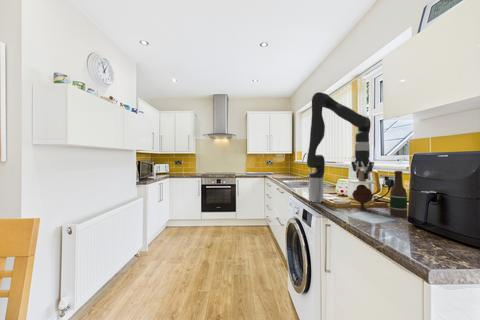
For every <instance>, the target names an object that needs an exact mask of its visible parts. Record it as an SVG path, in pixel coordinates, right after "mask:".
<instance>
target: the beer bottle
mask: <svg viewBox="0 0 480 320" xmlns="http://www.w3.org/2000/svg"><path fill="white" fill-rule="evenodd" d="M393 173H394V181H393V186H392V188H391V189H390V192H389V215H390V216H391V217H395V218H401V219H403V218H407V217H408V193H407V190H406V188H405V187H404V184H403V171H402V170H395V171H394V172H393Z"/></svg>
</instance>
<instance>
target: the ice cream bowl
mask: <svg viewBox="0 0 480 320" xmlns="http://www.w3.org/2000/svg"><path fill="white" fill-rule="evenodd" d="M351 194H352V198H353V199H354V200H355V201H356V202H357V203H359V204H360V206H359V207H357V210H360V211H368V209H367V208H366V207H365V204H367V203H369V202H370V201H371V200H372V199H373V196H374V194H372V191H371V189H370V188H369V187H367V186H366V184H361V183H360V184H358V185H357V186H356V188H355V189H354V190H353V192H352V193H351Z"/></svg>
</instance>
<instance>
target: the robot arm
mask: <svg viewBox="0 0 480 320" xmlns="http://www.w3.org/2000/svg"><path fill="white" fill-rule="evenodd" d="M323 108H324V109H328V110H330V111H331V112H333V113H335V114H336V115H337V116H338V117H339V118H341V119H343V120H345V121H346V122H348V123H349V124H351V125H352V126H354V127H356V128H357V133H355V145H354V158H355V160H353V161H351V167H352V170H353V172H355V174H356V180H358V171H362V169H363V171H364V179H366V180H369V173H371V172H372V171H373V169H374V165H375V162H374V161H370V153H371V152H370V151H371V150H370V133H371V132H370V131H371V126H372V125H371V123H372V122H371V119H370V118H369V117H368V116H364V115H362V114H360V113H358V112H356V111H355V110H353V109H351V108H350V107H348V106H346V105H345V104H342V103H339V102H338V101H336V100H335V99H333V97H331V96H330V95H328V93H325V92H321V91H320V92H315V93H314V94H313V95H312V98H311V121H310V122H311V123H310V133H309V134H310V135H309V146H308V151H307V157H306V165H307V167H308V168H310V169H315V170H314V171H312V172H310V173H309V187H308V201H309V200H310V201H312V202H311V203H313V202H316V203H315V204H320V203H321V202H322V201H323V202H324V175H325V168H326V167H325V165H326V162H325V161H326V160H325V157H324V155H322V154H317V149H318V146H319V145H320V144H321V143H322V141H323V140H324V137H325V131H326V126H325V125H326V124H325V121H324V118H323V117H324V116H323ZM310 201H309V202H310ZM321 204H322V203H321Z"/></svg>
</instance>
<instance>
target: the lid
mask: <svg viewBox="0 0 480 320" xmlns="http://www.w3.org/2000/svg"><path fill="white" fill-rule="evenodd" d="M348 182H349V183H352V184H360V185H361V184H362V185H366V184H367V185H371V184H372V185H373V184H377V181H376V180H369V179H364V170H361V171H358V179H350V180H348Z"/></svg>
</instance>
